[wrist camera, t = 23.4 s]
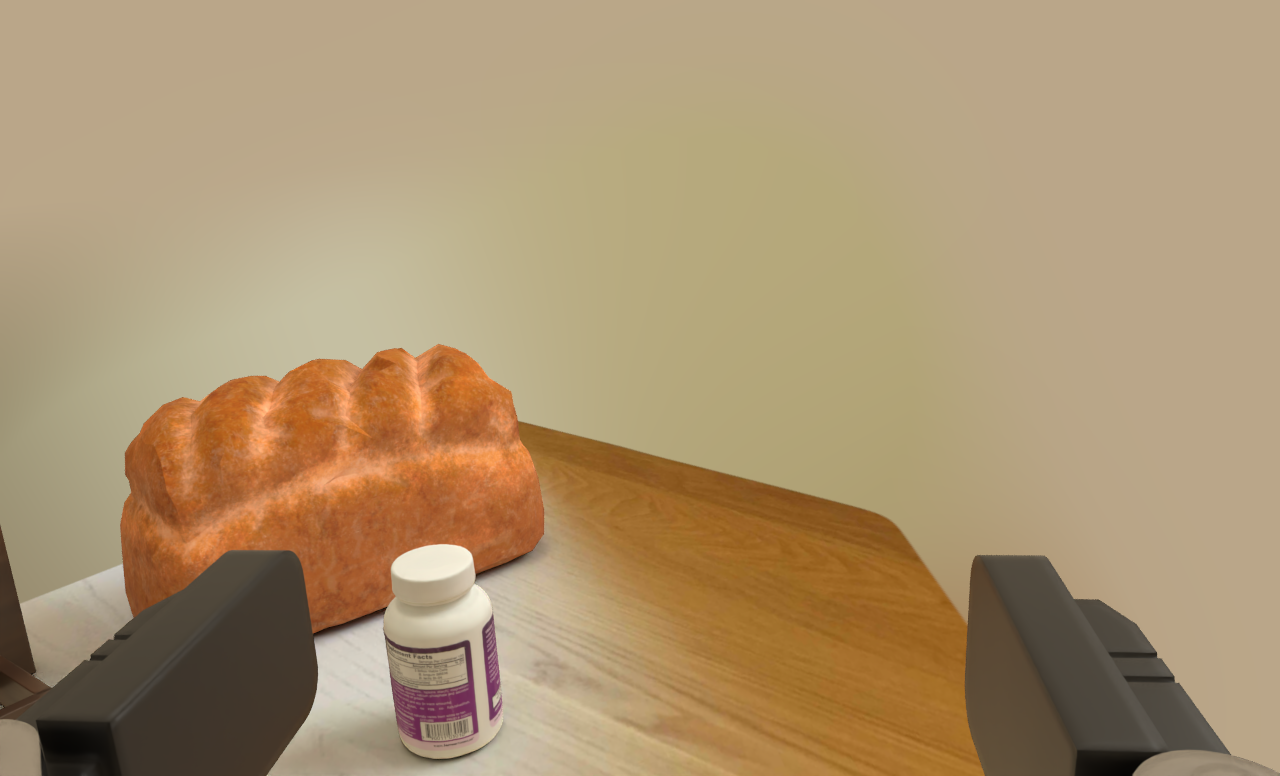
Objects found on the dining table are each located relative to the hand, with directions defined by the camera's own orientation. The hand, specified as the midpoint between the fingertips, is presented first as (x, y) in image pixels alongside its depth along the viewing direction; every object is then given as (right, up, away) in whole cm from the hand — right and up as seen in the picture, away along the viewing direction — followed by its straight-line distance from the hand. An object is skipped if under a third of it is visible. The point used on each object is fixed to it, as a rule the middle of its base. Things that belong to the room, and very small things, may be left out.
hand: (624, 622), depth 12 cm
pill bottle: (-9, -15, +40) cm, 44 cm away
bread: (-20, -11, +57) cm, 61 cm away
